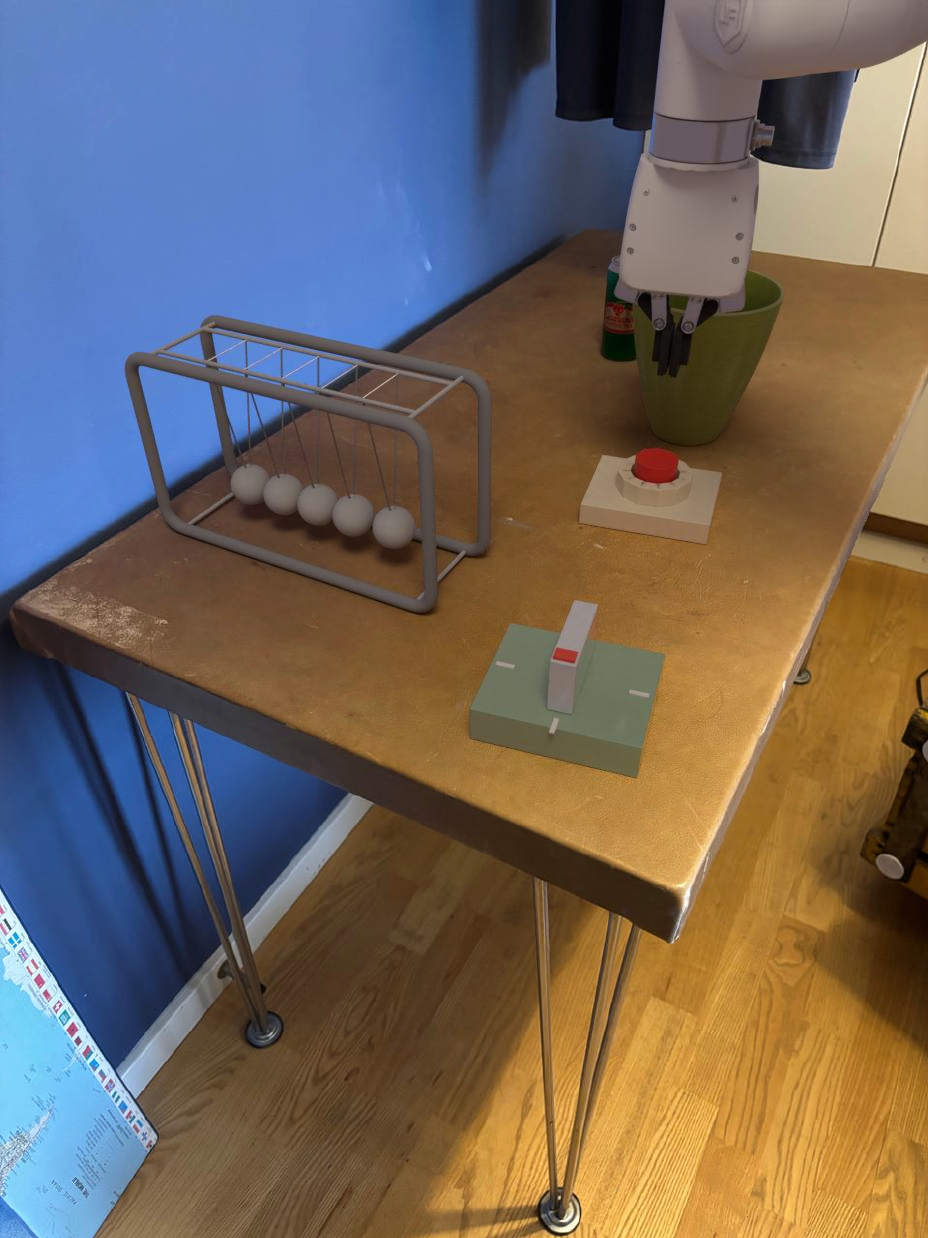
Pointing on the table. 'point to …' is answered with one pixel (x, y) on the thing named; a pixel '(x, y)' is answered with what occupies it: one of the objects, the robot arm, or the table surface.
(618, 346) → the soda can
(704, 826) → the table surface
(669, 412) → the flower pot
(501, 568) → the table surface
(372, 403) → the newton's cradle
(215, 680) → the table surface
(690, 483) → the button block
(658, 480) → the button
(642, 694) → the panel
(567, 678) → the tap handle
